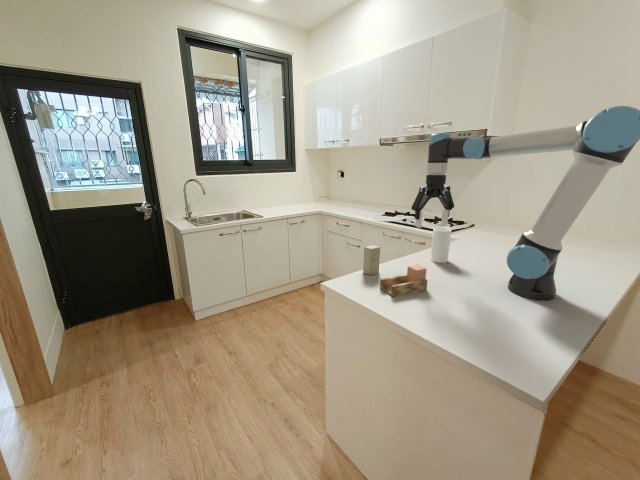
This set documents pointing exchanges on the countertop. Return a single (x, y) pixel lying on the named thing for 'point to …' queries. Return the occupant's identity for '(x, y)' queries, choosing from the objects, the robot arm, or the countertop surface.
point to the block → (416, 273)
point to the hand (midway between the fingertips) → (431, 226)
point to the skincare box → (371, 259)
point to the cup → (440, 245)
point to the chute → (401, 285)
